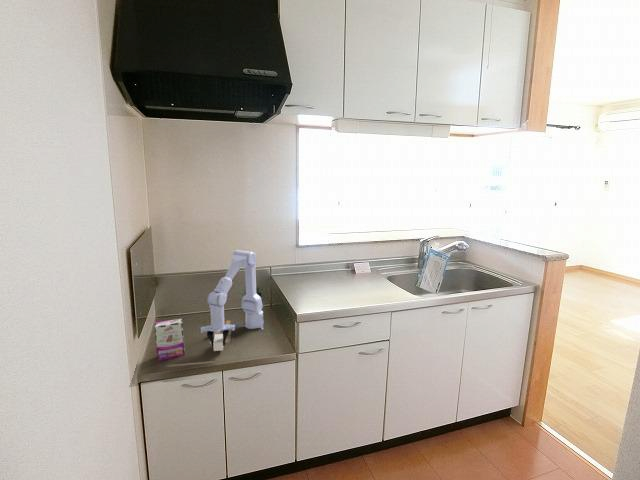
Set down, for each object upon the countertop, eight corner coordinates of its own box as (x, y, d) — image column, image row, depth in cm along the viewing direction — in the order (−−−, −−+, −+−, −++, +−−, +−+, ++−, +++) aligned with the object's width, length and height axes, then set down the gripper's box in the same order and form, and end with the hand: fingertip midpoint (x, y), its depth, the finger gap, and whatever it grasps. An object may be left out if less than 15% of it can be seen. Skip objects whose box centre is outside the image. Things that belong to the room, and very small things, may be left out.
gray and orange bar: (245, 324, 169) (245, 319, 169) (245, 326, 167) (245, 321, 167) (226, 326, 167) (226, 320, 167) (226, 328, 165) (225, 322, 165)
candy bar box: (184, 350, 154) (182, 317, 150) (185, 356, 149) (182, 322, 146) (157, 355, 149) (154, 321, 146) (157, 361, 145) (154, 326, 141)
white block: (224, 341, 158) (223, 333, 157) (222, 350, 151) (222, 342, 150) (215, 342, 157) (214, 334, 156) (213, 351, 150) (213, 342, 149)
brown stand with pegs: (231, 332, 171) (231, 324, 170) (230, 343, 161) (230, 334, 160) (211, 334, 169) (211, 325, 168) (209, 345, 159) (209, 336, 158)
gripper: (199, 322, 144) (200, 351, 147) (233, 320, 147) (234, 348, 150) (201, 315, 151) (202, 343, 154) (234, 313, 154) (235, 340, 157)
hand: (218, 345), depth 152 cm, fingers closed on white block, 4 cm apart
